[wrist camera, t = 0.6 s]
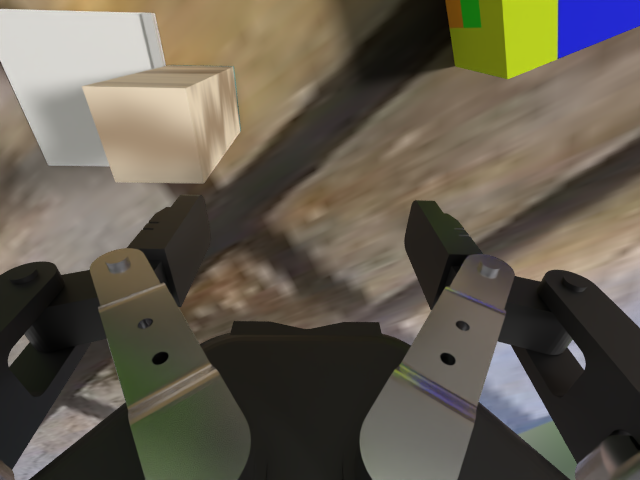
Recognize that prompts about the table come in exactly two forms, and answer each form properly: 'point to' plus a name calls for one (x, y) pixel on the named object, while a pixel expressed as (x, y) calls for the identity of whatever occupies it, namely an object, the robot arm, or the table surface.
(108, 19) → the mat
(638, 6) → the puzzle toy
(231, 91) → the maple block
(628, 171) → the table surface
